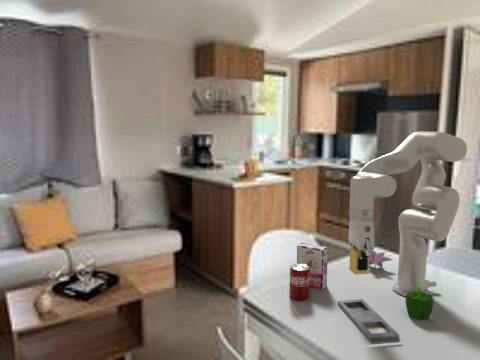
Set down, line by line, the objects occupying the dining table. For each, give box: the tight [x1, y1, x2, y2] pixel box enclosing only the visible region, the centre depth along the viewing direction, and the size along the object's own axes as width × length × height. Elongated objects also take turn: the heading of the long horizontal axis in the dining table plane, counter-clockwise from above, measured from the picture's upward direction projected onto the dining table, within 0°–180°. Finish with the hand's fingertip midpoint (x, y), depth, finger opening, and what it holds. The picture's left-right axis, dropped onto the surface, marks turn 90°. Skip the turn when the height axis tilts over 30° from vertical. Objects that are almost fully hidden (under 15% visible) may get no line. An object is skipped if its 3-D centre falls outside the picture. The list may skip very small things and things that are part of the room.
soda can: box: [288, 263, 311, 302], centre depth 142 cm, size 7×7×12 cm
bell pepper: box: [405, 285, 434, 320], centre depth 129 cm, size 8×8×10 cm
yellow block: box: [348, 247, 370, 276], centre depth 130 cm, size 4×4×8 cm
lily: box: [368, 249, 393, 273], centre depth 171 cm, size 12×12×10 cm
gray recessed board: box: [337, 298, 400, 343], centre depth 126 cm, size 9×24×2 cm, turn 9°
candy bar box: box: [296, 242, 329, 291], centre depth 153 cm, size 11×5×16 cm, turn 56°
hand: (358, 266), depth 130 cm, fingers closed on yellow block, 4 cm apart
